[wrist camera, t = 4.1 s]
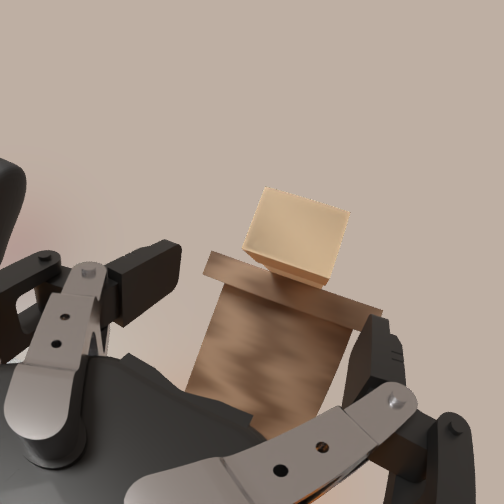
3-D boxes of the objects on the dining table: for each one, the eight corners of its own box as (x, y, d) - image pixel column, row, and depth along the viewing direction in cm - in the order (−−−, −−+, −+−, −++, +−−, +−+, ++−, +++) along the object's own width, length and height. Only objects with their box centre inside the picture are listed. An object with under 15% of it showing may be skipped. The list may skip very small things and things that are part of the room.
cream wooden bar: (241, 248, 14) (265, 186, 14) (285, 287, 37) (294, 262, 37) (329, 278, 13) (350, 212, 13) (317, 298, 36) (326, 273, 36)
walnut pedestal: (123, 517, 20) (211, 250, 24) (167, 477, 32) (244, 270, 35) (237, 570, 17) (383, 310, 20) (257, 516, 28) (358, 310, 32)
